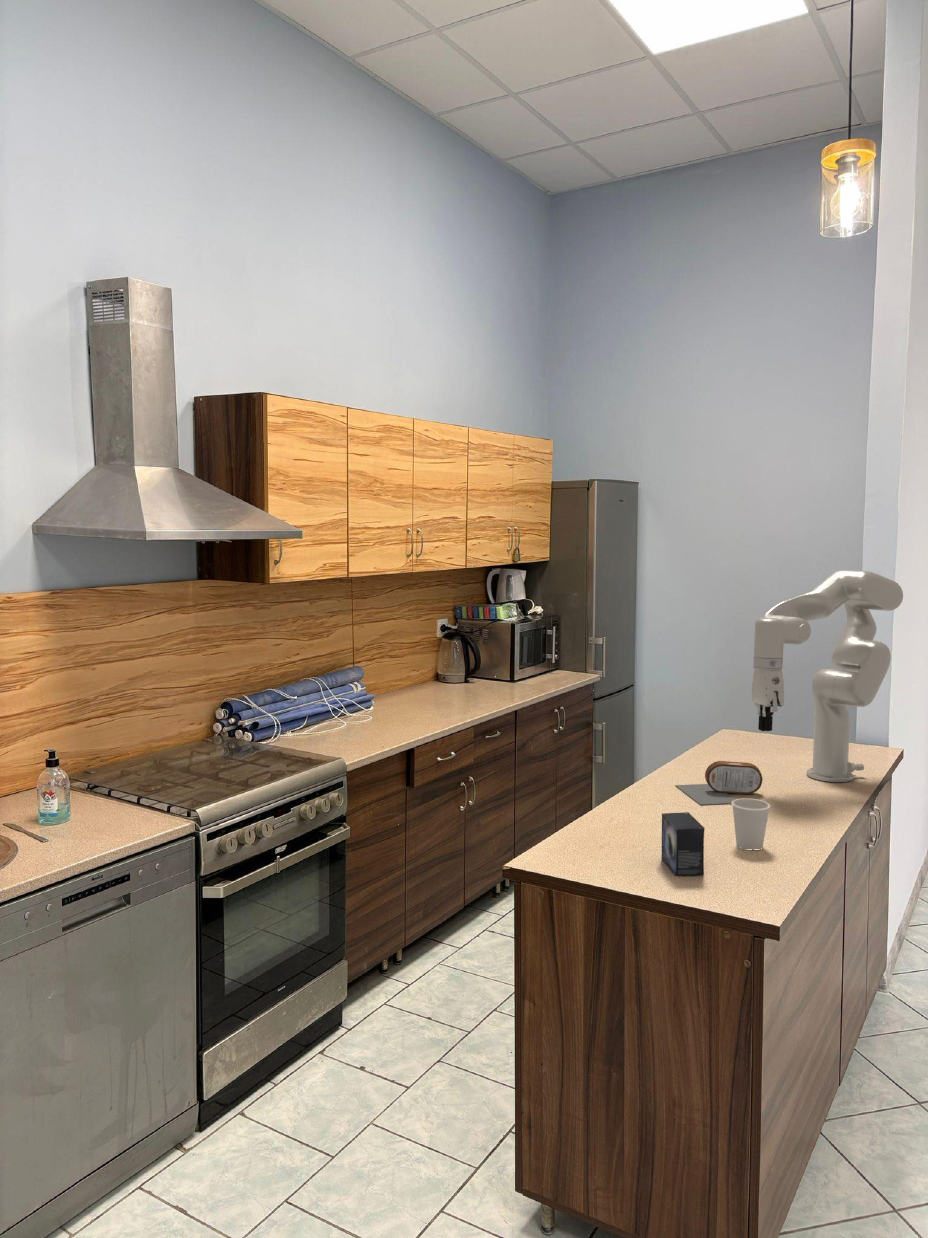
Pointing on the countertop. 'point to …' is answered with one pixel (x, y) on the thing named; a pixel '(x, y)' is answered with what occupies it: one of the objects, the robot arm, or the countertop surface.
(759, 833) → the dixie cup
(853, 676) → the robot arm
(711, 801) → the mat
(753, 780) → the tin
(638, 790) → the countertop surface
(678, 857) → the small box
